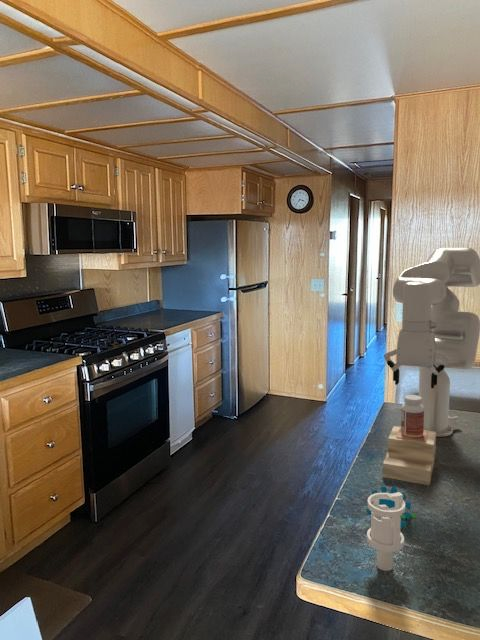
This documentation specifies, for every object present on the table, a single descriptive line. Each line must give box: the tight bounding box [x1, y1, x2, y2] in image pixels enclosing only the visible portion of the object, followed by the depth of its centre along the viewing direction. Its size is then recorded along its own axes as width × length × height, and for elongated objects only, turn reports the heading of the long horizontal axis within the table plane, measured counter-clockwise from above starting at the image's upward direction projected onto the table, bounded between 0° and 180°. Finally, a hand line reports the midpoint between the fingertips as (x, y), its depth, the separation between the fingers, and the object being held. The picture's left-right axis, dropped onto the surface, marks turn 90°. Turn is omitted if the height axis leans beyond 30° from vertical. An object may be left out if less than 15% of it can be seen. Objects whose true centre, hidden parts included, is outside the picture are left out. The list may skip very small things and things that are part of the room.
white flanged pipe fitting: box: [366, 491, 406, 572], centre depth 97 cm, size 7×7×15 cm
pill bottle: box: [400, 394, 424, 438], centre depth 140 cm, size 6×6×11 cm
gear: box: [366, 485, 418, 529], centre depth 113 cm, size 11×6×10 cm
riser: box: [382, 425, 437, 486], centre depth 138 cm, size 18×12×8 cm, turn 154°
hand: (414, 385), depth 139 cm, fingers open, 9 cm apart
